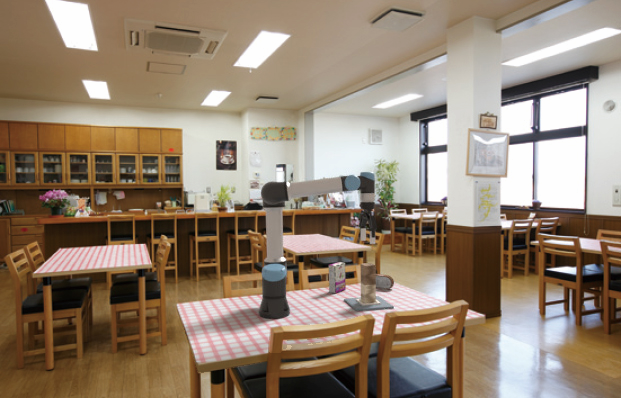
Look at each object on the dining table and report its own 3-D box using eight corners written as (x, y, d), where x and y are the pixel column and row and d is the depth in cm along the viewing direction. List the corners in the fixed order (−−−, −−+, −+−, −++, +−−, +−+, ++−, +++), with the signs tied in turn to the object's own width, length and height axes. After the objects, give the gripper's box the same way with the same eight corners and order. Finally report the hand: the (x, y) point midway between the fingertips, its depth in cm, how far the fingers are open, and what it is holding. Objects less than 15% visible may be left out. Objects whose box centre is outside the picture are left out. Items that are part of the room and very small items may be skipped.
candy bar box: (338, 288, 247) (338, 261, 246) (345, 289, 244) (345, 262, 243) (328, 292, 238) (328, 264, 238) (335, 293, 235) (335, 265, 235)
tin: (394, 289, 244) (394, 275, 244) (392, 290, 242) (392, 276, 241) (371, 286, 252) (371, 272, 252) (369, 287, 250) (368, 273, 250)
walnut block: (364, 285, 210) (364, 265, 209) (360, 282, 215) (360, 263, 215) (375, 284, 211) (375, 265, 211) (371, 281, 217) (371, 263, 216)
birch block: (364, 304, 210) (364, 285, 209) (360, 301, 216) (360, 282, 215) (375, 303, 211) (375, 284, 211) (371, 300, 217) (371, 281, 217)
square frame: (362, 305, 207) (362, 304, 207) (355, 300, 217) (355, 298, 217) (380, 304, 210) (380, 302, 210) (373, 299, 219) (373, 297, 219)
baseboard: (356, 311, 201) (356, 309, 201) (344, 300, 221) (344, 298, 221) (393, 308, 206) (393, 306, 206) (378, 297, 225) (378, 296, 225)
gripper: (383, 202, 201) (384, 245, 201) (365, 200, 225) (366, 238, 226) (369, 202, 199) (369, 245, 200) (353, 201, 223) (353, 239, 224)
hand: (367, 242), depth 213 cm, fingers open, 13 cm apart
